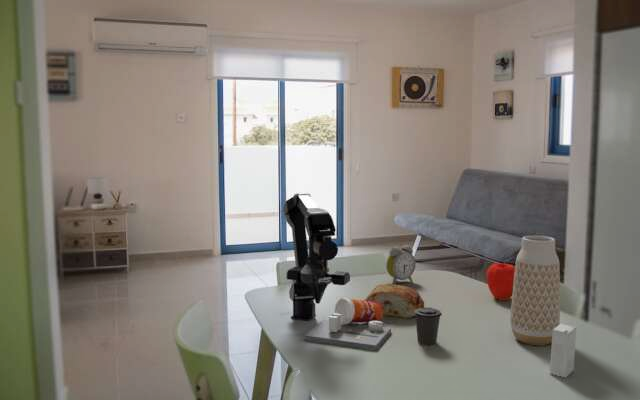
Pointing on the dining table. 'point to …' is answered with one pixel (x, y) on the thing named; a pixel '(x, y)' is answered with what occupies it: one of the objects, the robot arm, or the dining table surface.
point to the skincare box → (563, 350)
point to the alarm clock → (401, 263)
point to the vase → (536, 291)
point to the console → (350, 334)
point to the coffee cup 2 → (427, 325)
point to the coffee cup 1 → (358, 311)
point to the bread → (396, 300)
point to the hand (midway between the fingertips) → (318, 303)
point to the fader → (334, 322)
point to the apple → (501, 280)
